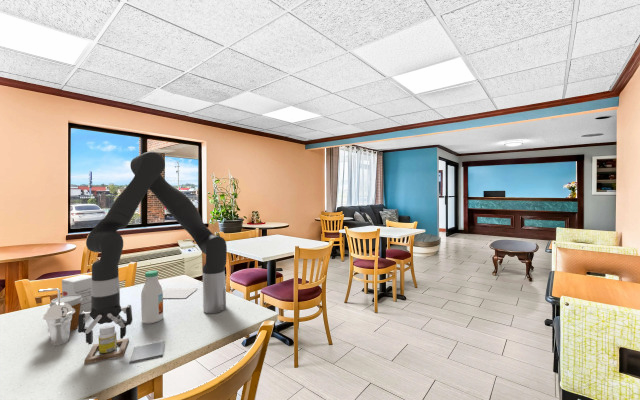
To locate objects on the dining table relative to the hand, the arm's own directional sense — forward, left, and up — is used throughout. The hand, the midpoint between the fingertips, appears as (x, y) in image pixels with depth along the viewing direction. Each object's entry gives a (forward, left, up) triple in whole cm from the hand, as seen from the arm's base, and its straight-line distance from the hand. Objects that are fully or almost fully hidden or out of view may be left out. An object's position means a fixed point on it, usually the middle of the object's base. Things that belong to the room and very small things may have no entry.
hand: (106, 340), depth 95 cm
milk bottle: (-11, -21, -4) cm, 24 cm away
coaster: (-12, +6, -4) cm, 14 cm away
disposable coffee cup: (+18, -26, -4) cm, 32 cm away
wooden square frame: (0, 0, -4) cm, 4 cm away
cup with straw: (+17, -15, -4) cm, 23 cm away
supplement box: (+19, -45, -4) cm, 49 cm away
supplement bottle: (0, 0, -4) cm, 4 cm away
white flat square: (-13, -48, -5) cm, 50 cm away
